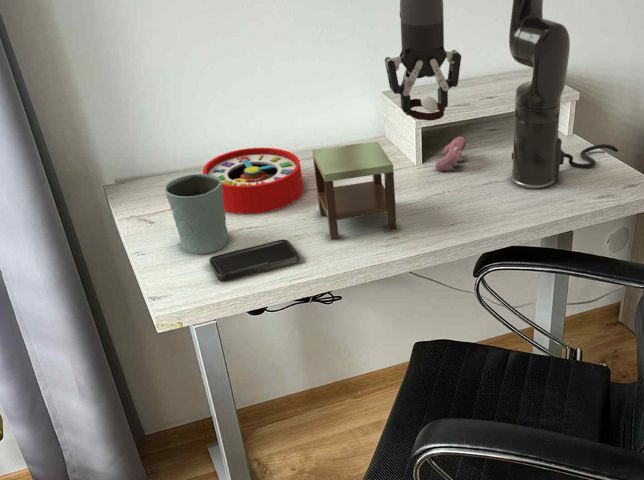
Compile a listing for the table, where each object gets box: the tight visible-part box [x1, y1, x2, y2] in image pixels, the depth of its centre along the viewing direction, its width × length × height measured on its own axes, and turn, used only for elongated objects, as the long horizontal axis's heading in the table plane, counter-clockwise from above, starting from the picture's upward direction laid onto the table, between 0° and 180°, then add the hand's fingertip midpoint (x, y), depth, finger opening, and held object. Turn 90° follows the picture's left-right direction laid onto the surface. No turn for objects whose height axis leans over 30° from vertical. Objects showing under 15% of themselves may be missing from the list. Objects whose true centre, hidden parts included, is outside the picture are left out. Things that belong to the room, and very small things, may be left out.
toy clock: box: [202, 147, 304, 215], centre depth 171 cm, size 20×6×20 cm
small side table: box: [311, 140, 398, 241], centre depth 158 cm, size 13×12×14 cm
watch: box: [409, 94, 445, 122], centre depth 151 cm, size 8×5×4 cm, turn 59°
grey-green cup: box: [164, 173, 229, 255], centre depth 152 cm, size 10×10×12 cm
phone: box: [208, 239, 300, 282], centre depth 149 cm, size 8×1×15 cm
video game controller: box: [435, 135, 468, 172], centre depth 182 cm, size 10×5×7 cm, turn 168°
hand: (424, 111), depth 152 cm, fingers closed on watch, 6 cm apart
